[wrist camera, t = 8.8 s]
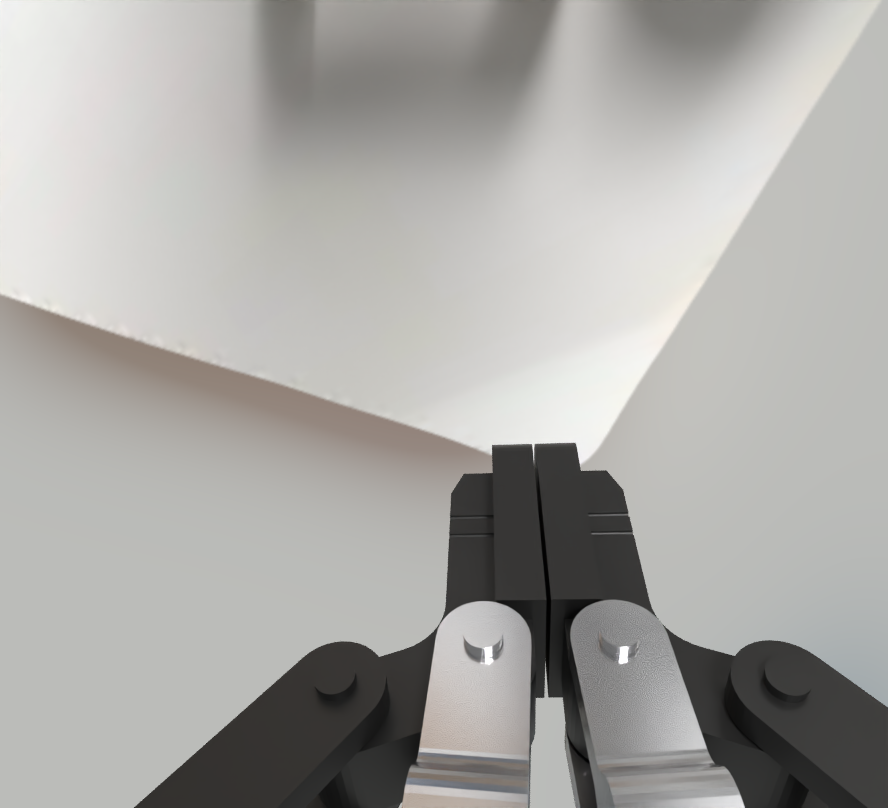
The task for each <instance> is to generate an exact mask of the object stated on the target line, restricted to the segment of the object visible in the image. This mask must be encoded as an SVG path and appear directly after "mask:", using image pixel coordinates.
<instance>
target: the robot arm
mask: <svg viewBox="0 0 888 808" xmlns="http://www.w3.org/2000/svg"><path fill="white" fill-rule="evenodd" d="M492 459H493V460H492V461H493V473H486V474H484V473H483V474H464V475H463V476H462V478H461V479H460V481H459V482H458V484H457V486H456V487H455V489H454V490H453V492H452V493H451V511H450V532H449V534H450V538H449V552H448V573H447V594H446V608H445V612H444V615H443V618H442V620H441V622H440V624H439V625H438V627H437V628H436V629H435V630H434V632H433V633H431V635H429V636H428V637H427V638H426V639H424V640H423V641H422V642H420V643H418V644H416V645H415V646H412V647H409V648H407V649H404V650H401V651H397V652H394V653H391V654H388V655H384V656H381V657H378V655H377V654H376V653H375V652H373V651H372V650H371V649H369V648H367V647H366V646H364V645H361V644H358V643H354V642H334V643H330V644H326V645H323V646H321V647H319V648H317V649H315V650H313V651H311V652H310V653H309V654H307V655H306V656H305V657H303V658H302V659H301V660H300V661H299V662H298V663H297V664H296V665H294V666H293V667H292V668H291V669H290V670H289V671H288V672H287V673H285V674H284V675H283V676H282V677H281V678H280V679H279V680H277V681H276V682H275V683H274V684H273V685H272V686H271V687H270V688H269V689H267V690H266V691H265V692H264V693H263V694H262V695H260V696H259V697H258V698H257V699H256V700H255V701H254V702H253V703H252V704H250V705H249V706H248V707H247V708H246V709H245V710H244V711H242V712H241V713H240V714H239V715H238V716H237V717H236V718H235V719H233V720H232V721H231V722H230V723H229V724H228V725H227V726H226V727H224V728H223V729H222V730H221V731H220V732H219V733H218V734H217V735H216V736H214V737H213V738H212V739H211V740H210V741H209V742H207V743H206V744H205V745H204V746H203V747H202V748H201V749H200V750H198V751H197V752H196V753H195V754H194V755H193V756H192V757H191V758H189V759H188V760H187V761H186V762H185V763H184V764H183V765H182V766H180V767H179V768H178V769H177V770H176V771H175V772H174V773H173V774H171V775H170V776H169V777H168V778H167V779H166V780H165V781H164V782H162V783H161V784H160V785H159V786H158V787H157V788H156V789H155V790H153V791H152V792H151V793H150V794H149V795H148V796H147V797H145V798H144V799H143V800H142V801H141V802H140V803H139V804H138V805H137V806H136V807H134V808H398V807H399V805H400V803H402V802H403V803H402V808H530V767H531V764H530V763H531V744H532V742H533V740H534V735H535V701H536V698H544V688H545V687H544V685H545V662H546V673H547V685H548V697H563V702H564V713H565V722H566V724H565V750H566V756H567V761H568V767H569V772H570V778H571V784H572V789H573V795H574V801H575V806H576V808H888V707H886V706H885V705H883V704H882V703H881V702H879V701H878V700H876V699H875V698H874V697H872V696H871V695H869V694H868V693H867V692H865V691H864V690H862V689H861V688H860V687H858V686H857V685H855V684H854V683H853V682H851V681H850V680H849V679H847V678H846V677H844V676H843V675H841V674H840V673H839V672H837V671H836V670H834V669H833V668H832V667H830V666H829V665H828V664H826V663H825V662H823V661H822V660H821V659H819V658H818V657H816V656H815V655H813V654H811V653H810V652H808V651H807V650H805V649H802V648H801V647H798V646H796V645H793V644H790V643H786V642H781V641H770V640H769V641H759V642H754V643H752V644H749V645H747V646H745V647H744V648H742V649H741V650H740V651H739V652H738V653H737V654H736V656H732V655H728V654H725V653H721V652H717V651H714V650H710V649H706V648H703V647H699V646H697V645H693V644H691V643H689V642H687V641H684V640H683V639H681V638H679V637H677V636H676V635H674V634H673V633H672V632H670V631H669V630H668V629H667V628H666V627H665V626H664V625H663V624H662V623H661V622H660V621H659V619H658V618H657V617H656V615H655V613H654V612H653V610H652V607H651V604H650V601H649V597H648V593H647V588H646V584H645V580H644V576H643V572H642V568H641V564H640V559H639V555H638V551H637V547H636V543H635V539H634V535H633V532H632V531H633V530H632V526H631V522H630V517H628V509H627V505H626V501H625V496H624V492H623V489H622V488H621V487H620V486H619V485H618V484H617V482H616V481H615V480H614V479H613V478H612V477H611V476H610V474H609V473H608V472H607V471H581V470H580V464H579V458H578V453H577V447H576V444H575V443H550V444H535V448H534V461H533V450H532V444H518V445H492Z"/></svg>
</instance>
